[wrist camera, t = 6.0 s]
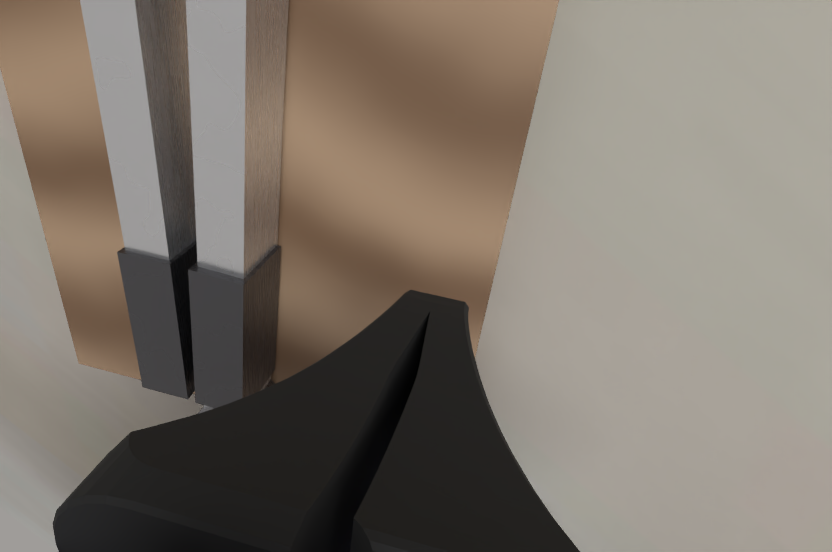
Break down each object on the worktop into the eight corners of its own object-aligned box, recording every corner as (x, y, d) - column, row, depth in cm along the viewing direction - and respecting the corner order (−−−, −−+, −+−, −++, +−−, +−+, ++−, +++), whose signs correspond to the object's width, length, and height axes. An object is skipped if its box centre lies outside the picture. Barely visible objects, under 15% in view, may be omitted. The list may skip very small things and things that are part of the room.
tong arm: (277, 415, 24) (247, 465, 22) (227, 400, 24) (192, 447, 22) (304, -37, 15) (256, -37, 12) (222, -55, 15) (160, -59, 13)
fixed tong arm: (226, 352, 23) (187, 399, 21) (185, 342, 23) (142, 387, 21) (195, -58, 15) (126, -62, 13) (134, -67, 15) (55, -73, 13)
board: (453, 444, 24) (450, 461, 23) (94, 350, 26) (78, 363, 25) (569, -46, 14) (569, -47, 13) (-23, -131, 16) (-55, -136, 16)
